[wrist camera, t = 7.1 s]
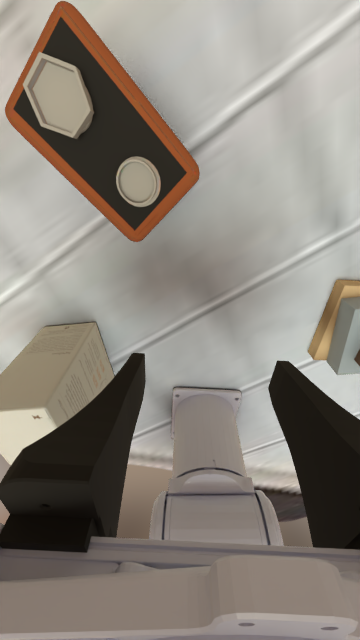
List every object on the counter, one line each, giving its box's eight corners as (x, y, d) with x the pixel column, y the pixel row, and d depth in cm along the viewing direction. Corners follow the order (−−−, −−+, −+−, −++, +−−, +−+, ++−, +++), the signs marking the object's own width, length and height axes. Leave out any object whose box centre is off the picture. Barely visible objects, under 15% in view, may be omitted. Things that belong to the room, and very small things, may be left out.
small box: (44, 324, 24) (-40, 411, 15) (97, 320, 24) (43, 407, 15) (70, 382, 28) (16, 478, 19) (116, 379, 28) (83, 475, 19)
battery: (124, 83, 15) (42, -42, 6) (197, 175, 17) (207, 172, 9) (84, 143, 17) (-24, 106, 8) (156, 219, 19) (131, 254, 10)
